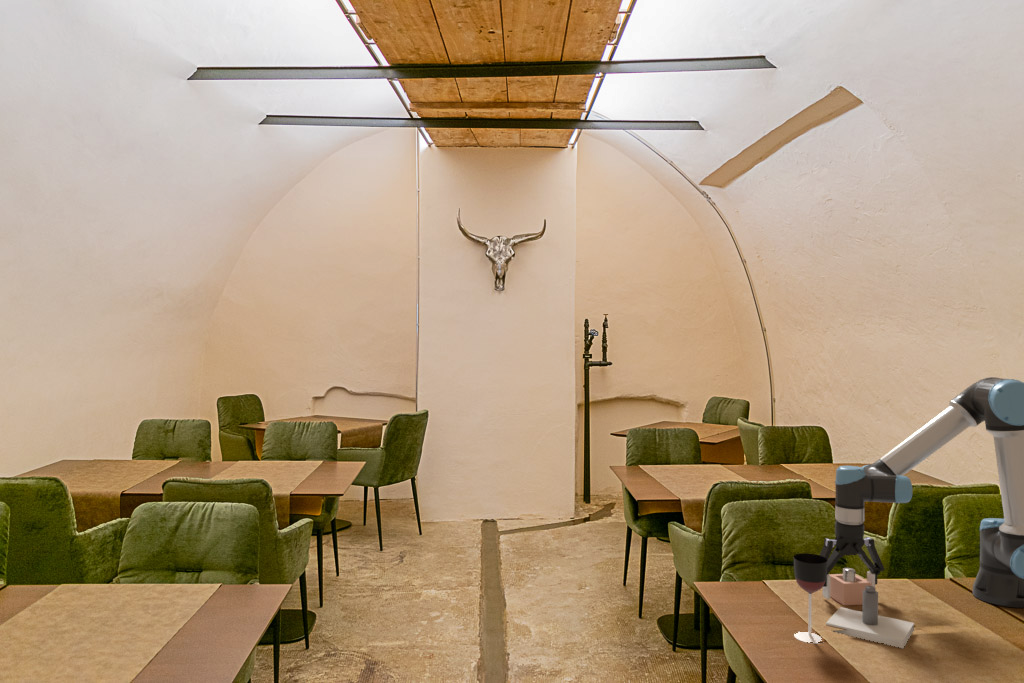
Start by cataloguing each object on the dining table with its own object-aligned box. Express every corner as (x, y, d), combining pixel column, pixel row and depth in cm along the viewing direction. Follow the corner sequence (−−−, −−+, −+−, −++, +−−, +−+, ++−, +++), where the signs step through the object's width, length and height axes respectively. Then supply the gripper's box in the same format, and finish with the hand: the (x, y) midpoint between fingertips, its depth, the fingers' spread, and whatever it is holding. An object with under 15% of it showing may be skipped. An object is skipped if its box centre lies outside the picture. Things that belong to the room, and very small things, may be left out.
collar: (853, 594, 216) (854, 573, 216) (870, 604, 208) (870, 582, 208) (827, 595, 215) (828, 574, 215) (843, 605, 207) (843, 583, 207)
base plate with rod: (914, 630, 193) (914, 587, 193) (903, 648, 182) (903, 602, 182) (840, 614, 204) (840, 573, 204) (825, 630, 193) (826, 587, 193)
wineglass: (825, 632, 192) (826, 555, 191) (828, 646, 184) (828, 565, 183) (792, 628, 194) (793, 552, 194) (793, 641, 186) (794, 561, 186)
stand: (864, 604, 212) (864, 569, 212) (858, 611, 207) (858, 575, 207) (839, 599, 216) (839, 564, 216) (833, 605, 211) (833, 570, 211)
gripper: (882, 517, 216) (881, 590, 217) (801, 519, 213) (800, 593, 214) (898, 523, 209) (897, 599, 209) (815, 526, 206) (814, 603, 206)
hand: (848, 596), depth 211 cm, fingers open, 13 cm apart
